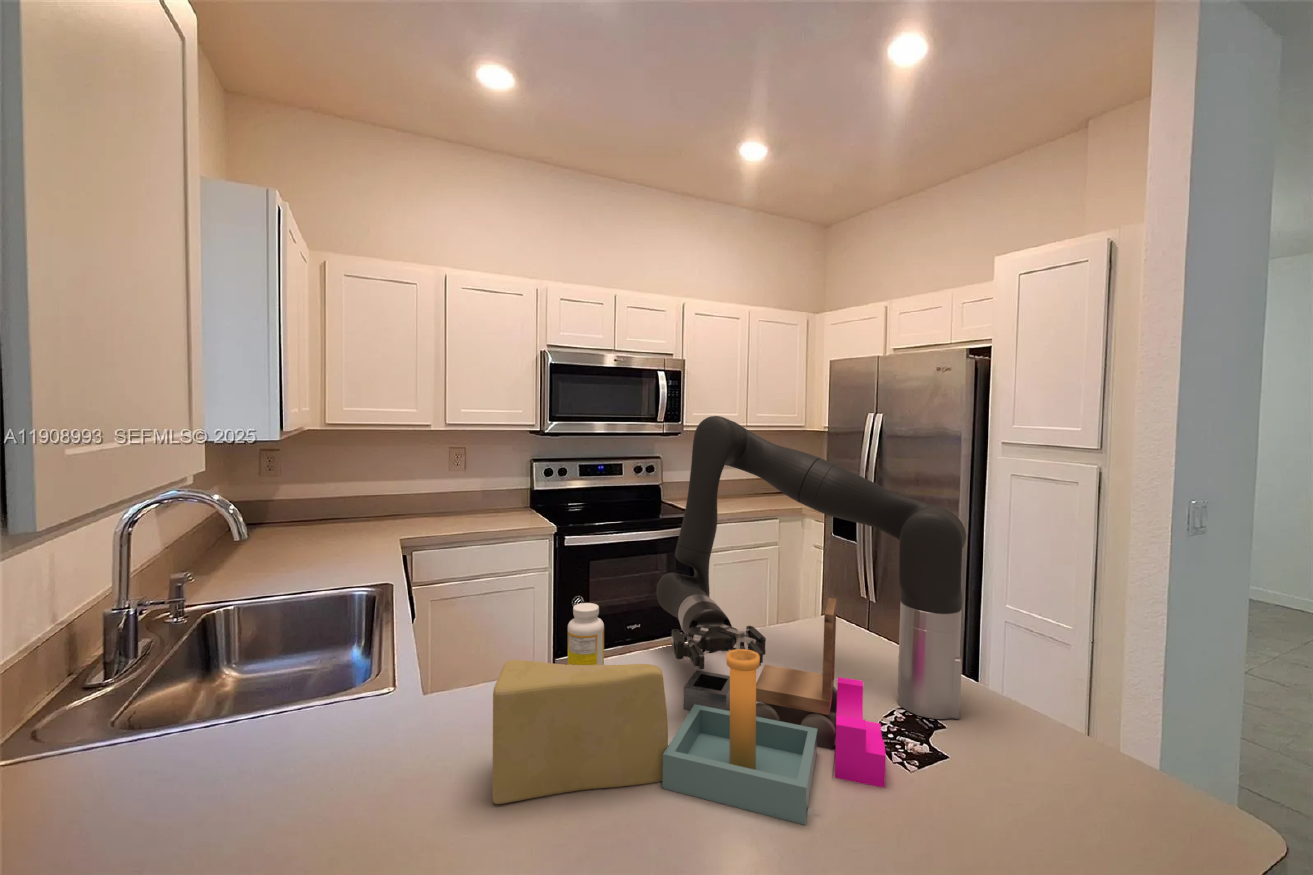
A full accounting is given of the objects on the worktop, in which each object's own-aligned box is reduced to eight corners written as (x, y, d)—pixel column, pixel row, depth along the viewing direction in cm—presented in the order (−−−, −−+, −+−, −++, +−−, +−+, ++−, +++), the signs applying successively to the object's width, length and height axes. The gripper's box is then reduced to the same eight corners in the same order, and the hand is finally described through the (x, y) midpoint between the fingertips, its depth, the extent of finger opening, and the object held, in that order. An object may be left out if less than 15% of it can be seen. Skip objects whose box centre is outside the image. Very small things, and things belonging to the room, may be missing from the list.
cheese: (663, 756, 82) (665, 652, 82) (670, 802, 73) (672, 684, 72) (504, 761, 81) (505, 654, 80) (489, 808, 71) (490, 687, 70)
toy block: (884, 789, 76) (886, 733, 76) (834, 779, 78) (836, 724, 78) (878, 730, 91) (879, 683, 90) (836, 723, 92) (837, 677, 92)
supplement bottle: (584, 664, 112) (585, 598, 111) (611, 674, 108) (612, 605, 107) (559, 677, 106) (560, 607, 106) (586, 687, 103) (587, 615, 102)
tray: (816, 760, 82) (817, 728, 82) (805, 825, 69) (806, 788, 69) (694, 733, 88) (694, 704, 88) (662, 788, 75) (663, 754, 75)
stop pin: (761, 760, 80) (762, 651, 80) (755, 778, 76) (756, 664, 76) (730, 753, 82) (730, 647, 81) (722, 771, 77) (723, 659, 77)
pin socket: (735, 703, 98) (736, 677, 98) (725, 723, 91) (726, 695, 91) (695, 695, 100) (696, 669, 100) (683, 715, 94) (683, 687, 94)
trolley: (839, 715, 95) (843, 595, 94) (834, 756, 83) (838, 620, 82) (759, 699, 99) (762, 585, 98) (744, 737, 87) (747, 608, 87)
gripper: (663, 602, 99) (683, 638, 83) (743, 599, 102) (778, 634, 86) (662, 645, 100) (682, 690, 84) (742, 641, 102) (776, 684, 86)
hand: (730, 661), depth 85 cm, fingers open, 8 cm apart
